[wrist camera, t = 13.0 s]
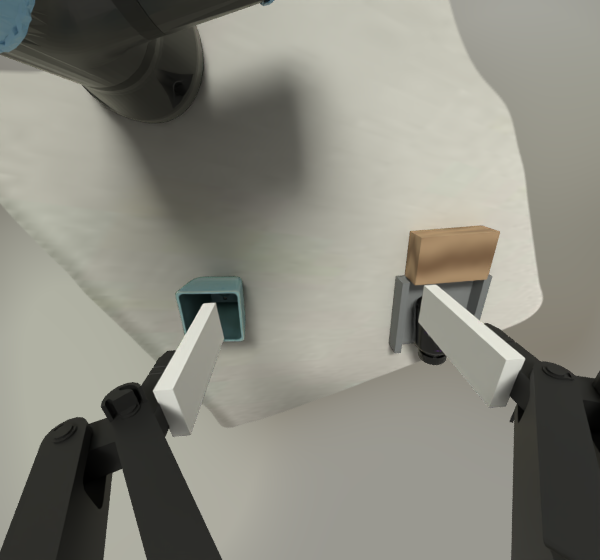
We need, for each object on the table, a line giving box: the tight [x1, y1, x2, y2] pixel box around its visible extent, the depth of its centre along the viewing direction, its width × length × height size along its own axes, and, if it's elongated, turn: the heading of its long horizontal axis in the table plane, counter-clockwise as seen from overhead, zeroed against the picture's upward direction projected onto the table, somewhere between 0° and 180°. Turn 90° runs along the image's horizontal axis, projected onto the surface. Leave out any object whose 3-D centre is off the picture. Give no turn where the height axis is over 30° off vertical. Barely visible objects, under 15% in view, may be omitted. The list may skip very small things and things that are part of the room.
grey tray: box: [389, 274, 492, 353], centre depth 47 cm, size 15×15×3 cm
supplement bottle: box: [413, 296, 447, 365], centre depth 46 cm, size 7×7×12 cm
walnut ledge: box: [405, 226, 500, 285], centre depth 42 cm, size 8×12×4 cm, turn 94°
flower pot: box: [175, 276, 245, 342], centre depth 41 cm, size 9×9×9 cm
